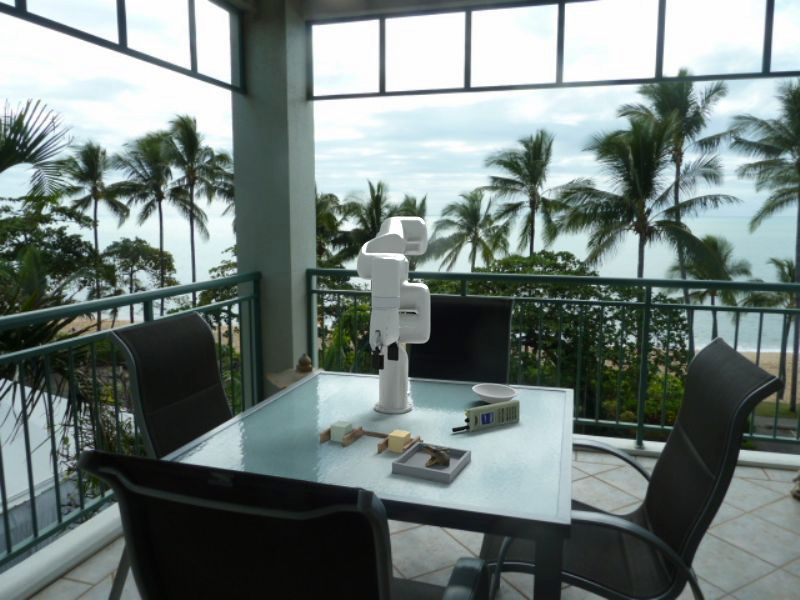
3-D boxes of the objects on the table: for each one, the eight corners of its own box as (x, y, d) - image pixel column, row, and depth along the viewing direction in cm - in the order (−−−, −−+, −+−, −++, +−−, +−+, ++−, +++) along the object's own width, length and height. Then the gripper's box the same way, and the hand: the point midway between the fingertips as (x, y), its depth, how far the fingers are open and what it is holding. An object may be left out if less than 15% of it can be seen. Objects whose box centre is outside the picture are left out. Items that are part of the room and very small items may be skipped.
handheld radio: (521, 422, 184) (456, 436, 171) (513, 419, 187) (449, 433, 174) (521, 401, 184) (456, 413, 171) (514, 398, 186) (449, 411, 174)
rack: (341, 429, 176) (341, 420, 176) (423, 442, 165) (423, 434, 165) (320, 442, 165) (319, 433, 165) (405, 457, 155) (405, 448, 154)
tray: (417, 450, 160) (417, 441, 159) (470, 459, 153) (471, 450, 153) (392, 472, 145) (392, 462, 145) (449, 484, 139) (449, 473, 139)
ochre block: (395, 445, 164) (395, 429, 163) (410, 447, 162) (410, 432, 161) (388, 450, 160) (388, 434, 159) (403, 453, 158) (403, 437, 157)
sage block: (338, 435, 171) (338, 420, 171) (352, 437, 169) (352, 422, 169) (330, 440, 167) (330, 424, 167) (344, 442, 165) (344, 427, 165)
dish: (526, 409, 196) (527, 394, 196) (488, 414, 191) (489, 399, 190) (499, 395, 212) (499, 381, 212) (463, 399, 207) (463, 385, 207)
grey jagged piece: (429, 475, 144) (430, 451, 142) (413, 463, 149) (414, 439, 147) (454, 465, 149) (456, 441, 147) (438, 453, 154) (439, 430, 152)
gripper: (386, 297, 168) (386, 355, 170) (358, 306, 152) (359, 371, 155) (410, 298, 165) (410, 358, 167) (385, 308, 149) (385, 374, 152)
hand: (385, 364), depth 161 cm, fingers open, 9 cm apart
